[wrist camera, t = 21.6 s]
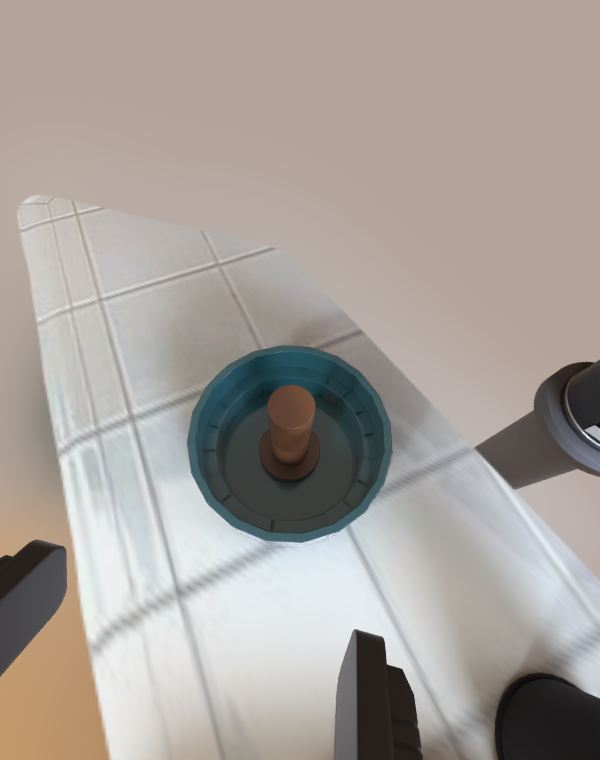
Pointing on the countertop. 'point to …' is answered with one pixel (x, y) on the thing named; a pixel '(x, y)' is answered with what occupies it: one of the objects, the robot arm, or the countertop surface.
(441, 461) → the countertop surface
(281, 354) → the bowl
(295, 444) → the brown wooden peg
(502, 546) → the countertop surface
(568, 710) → the aerosol can
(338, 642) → the countertop surface
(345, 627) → the countertop surface
